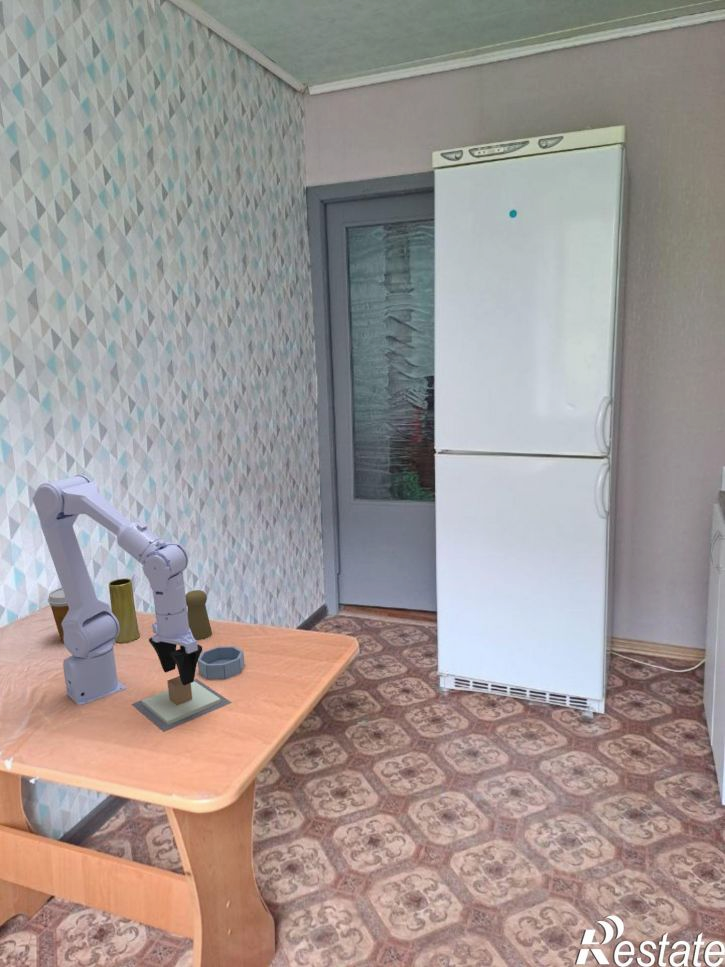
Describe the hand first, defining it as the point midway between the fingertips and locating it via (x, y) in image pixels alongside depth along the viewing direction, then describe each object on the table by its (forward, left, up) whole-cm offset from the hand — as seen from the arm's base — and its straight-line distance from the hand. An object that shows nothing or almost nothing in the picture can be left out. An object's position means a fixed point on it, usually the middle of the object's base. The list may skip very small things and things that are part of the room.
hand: (178, 676), depth 130 cm
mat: (0, 0, -6) cm, 6 cm away
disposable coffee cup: (-3, +50, -6) cm, 51 cm away
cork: (+19, +28, -6) cm, 34 cm away
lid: (0, 0, -6) cm, 6 cm away
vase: (+6, +40, -6) cm, 41 cm away
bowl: (+13, +7, -6) cm, 16 cm away
